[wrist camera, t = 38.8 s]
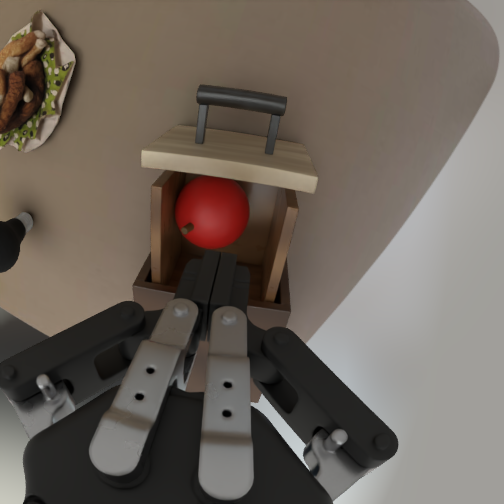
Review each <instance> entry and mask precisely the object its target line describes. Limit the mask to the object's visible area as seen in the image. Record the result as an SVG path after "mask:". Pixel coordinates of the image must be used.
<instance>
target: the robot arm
mask: <svg viewBox="0 0 504 504" xmlns="http://www.w3.org/2000/svg"><path fill="white" fill-rule="evenodd" d="M236 260H237V254H232V253H225V252H222V254H221V252H219V251H212V250H205V253H204V256H203V259H202V260H201V259H195V258H193V259H192V260H190V261H189V262H188V263H187V264H186V266H185V269H184V272H183V274H182V277H181V279H180V282H179V285H178V287H177V290H176V293H175V296H174V298H173V300H171V301H169V302H168V303H167V304H166V305H165V307H164V308H163V309H160V310H153V311H144V308H143V307H142V306H141V305H140V304H139V303H136V302H133V301H124V302H121V303H118V304H116V305H114V306H112V307H110V308H108V309H106V310H104V311H102V312H100V313H98V314H96V315H94V316H92V317H90V318H88V319H86V320H84V321H82V322H80V323H78V324H76V325H74V326H72V327H70V328H68V329H66V330H64V331H62V332H60V333H58V334H56V335H54V336H52V337H50V338H48V339H46V340H44V341H42V342H40V343H38V344H36V345H34V346H32V347H30V348H28V349H26V350H24V351H22V352H20V353H18V354H16V355H14V356H12V357H10V358H8V359H6V360H4V361H3V362H1V363H0V388H1V389H2V391H3V392H4V393H5V396H6V397H7V398H8V400H9V401H10V402H11V403H12V405H13V406H14V408H15V410H16V412H17V414H18V416H19V419H20V421H21V423H22V425H23V427H24V429H25V431H26V433H27V435H28V437H29V439H30V441H29V442H28V444H27V446H26V448H25V451H24V455H23V467H24V473H25V480H26V494H25V500H24V502H23V504H333V501H334V500H335V499H336V498H338V497H339V496H340V495H341V494H342V493H344V492H345V491H346V490H347V489H349V488H350V487H351V486H352V485H353V484H354V483H355V482H357V481H358V480H359V479H360V478H362V477H363V476H365V475H367V474H368V473H370V472H371V471H373V470H374V469H375V468H377V467H379V466H380V465H381V464H383V463H384V462H385V461H387V460H389V459H390V458H391V457H393V456H394V455H395V453H396V452H397V449H398V439H397V437H396V435H395V433H394V432H393V431H392V430H391V429H390V428H389V427H388V426H387V425H386V424H385V423H384V422H383V421H382V420H381V419H380V418H379V417H378V416H376V415H375V413H374V412H372V411H371V410H370V409H369V408H368V407H367V406H366V405H365V404H364V403H363V402H362V401H361V400H360V399H359V398H358V397H357V396H356V395H355V394H354V393H353V392H352V391H351V390H350V389H349V388H348V387H347V386H346V385H345V384H344V383H343V382H342V381H341V380H340V379H339V378H338V377H337V376H336V375H335V374H334V373H333V372H332V371H331V370H330V369H329V368H328V367H327V366H326V365H325V364H324V363H323V362H322V361H321V360H320V359H319V358H318V357H317V356H316V355H315V354H314V353H313V352H312V350H310V348H308V346H307V345H306V344H305V343H304V342H303V341H302V340H301V339H300V338H299V337H298V336H297V335H296V334H295V333H294V332H293V331H291V330H290V329H288V328H285V327H279V326H278V327H272V328H269V329H268V330H267V331H266V330H264V329H261V328H259V327H257V326H255V325H254V324H253V323H252V322H251V321H250V320H249V319H248V316H247V304H248V294H249V284H250V272H249V270H248V268H247V267H246V266H240V265H236ZM207 331H208V333H207ZM206 336H207V342H209V350H208V359H207V370H206V381H205V392H186V391H185V390H186V386H187V383H188V380H189V377H190V374H191V370H192V367H193V364H194V361H195V358H196V355H197V350H198V347H199V342H200V341H205V340H206ZM123 377H124V379H123V381H122V383H121V385H118V386H115V387H113V388H111V389H109V390H107V391H106V392H104V393H103V394H101V395H99V396H98V397H96V398H95V399H93V400H92V401H90V402H88V403H87V404H85V405H83V406H82V407H80V408H79V409H77V410H75V405H76V404H78V403H80V402H82V401H83V400H85V399H87V398H89V397H91V396H92V395H94V394H96V393H98V392H99V391H101V390H103V389H104V388H106V387H108V386H110V385H111V384H113V383H115V382H116V381H118V380H120V379H121V378H123ZM250 377H251V378H252V379H253V382H254V384H255V385H256V387H257V388H258V389H259V390H260V392H261V393H262V394H263V395H264V396H265V398H266V399H267V400H268V401H269V402H270V404H271V405H272V406H273V407H274V408H275V410H276V411H277V412H278V413H279V414H280V415H281V417H282V418H283V419H284V420H285V421H286V423H287V424H288V425H289V426H290V427H291V428H292V430H293V431H294V432H295V433H296V434H297V435H298V436H299V438H300V439H301V440H302V441H303V442H304V443H305V444H306V447H305V448H304V452H303V457H304V460H305V462H306V464H307V465H308V467H309V469H310V471H309V470H308V469H307V468H306V466H305V465H304V464H303V463H302V461H301V460H300V459H299V458H298V457H297V455H296V454H295V453H294V452H293V450H292V449H291V448H290V447H289V445H288V444H287V443H286V442H285V440H284V439H283V438H282V436H281V435H280V434H279V432H278V431H277V430H276V429H275V427H274V426H273V425H272V423H271V422H270V421H269V420H268V419H267V417H266V416H265V415H264V414H263V413H261V412H260V411H259V410H257V409H256V408H254V407H253V406H251V405H250Z"/></svg>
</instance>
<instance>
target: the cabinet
mask: <svg viewBox="0 0 504 504" xmlns="http://www.w3.org/2000/svg"><path fill="white" fill-rule="evenodd" d="M176 290H177V287H172V286H166V285H161V284H155V283H152V272H151V252H150V254H149V256H148V257H147V259H146V261H145V263H144V265H143V267H142V268H141V270H140V272H139V274H138V276H137V278H136V280H135V282H134V284H133V295H134V302H136V303H139V304H140V305H141V306H142V307H143V308H144V311H153V310H160V309H163V308H164V307H165V305H166V304H167V303H168V302H169V301H171V300H173V298H174V296H175V293H176ZM290 313H291V306H290V293H289V279H288V267H287V257H286V260H285V264H284V268H283V271H282V275H281V279H280V282H279V286H278V289H277V293H276V297H275V300H274V303H270V302H263V301H256V300H250V299H248V304H247V316H248V319H249V320H250V321H251V322H252V323H253V324H254V325H255V326H257V327H259V328H261V329H264V330H266V331H267V330H268V329H269V328H272V327H278V326H279V327H285V328H286V325H287V322H288V319H289V316H290ZM207 333H208V331H207ZM208 350H209V342H207V336H206V340H205V341H200V342H199V347H198V350H197V355H196V358H195V361H194V364H193V367H192V370H191V374H190V377H189V380H188V383H187V386H186V390H185V391H186V392H205V381H206V370H207V359H208ZM261 394H262V393H261V392H260V390H259V389H258V388H257V387H256V385H255V384H254V382H253V379H252V378H251V377H250V402H254V403H258V401H259V399H260V396H261Z"/></svg>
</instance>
